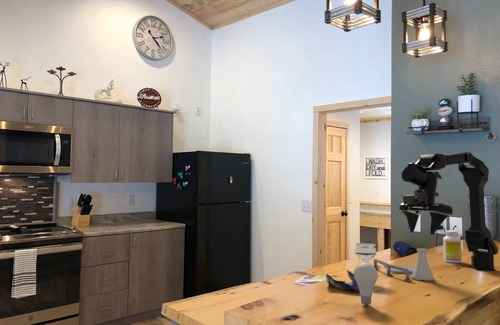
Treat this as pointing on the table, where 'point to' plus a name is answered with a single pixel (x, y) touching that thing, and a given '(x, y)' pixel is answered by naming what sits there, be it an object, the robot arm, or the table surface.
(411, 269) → the slate coaster
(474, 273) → the table surface
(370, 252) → the wineglass
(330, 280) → the snack package
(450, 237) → the supplement bottle
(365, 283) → the lightbulb
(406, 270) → the bent rail
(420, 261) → the flask
